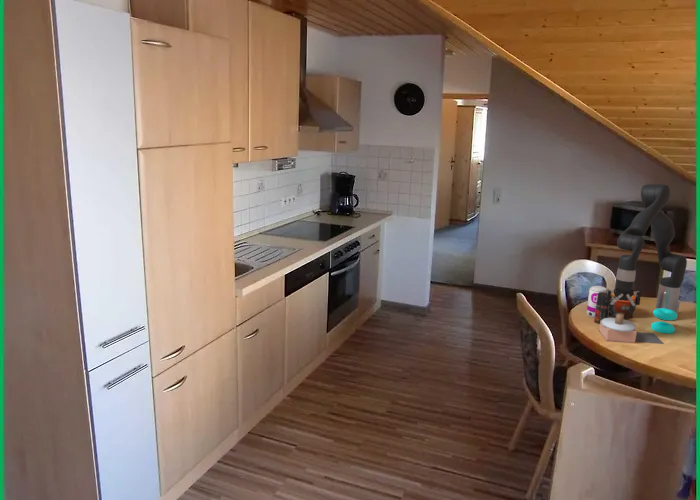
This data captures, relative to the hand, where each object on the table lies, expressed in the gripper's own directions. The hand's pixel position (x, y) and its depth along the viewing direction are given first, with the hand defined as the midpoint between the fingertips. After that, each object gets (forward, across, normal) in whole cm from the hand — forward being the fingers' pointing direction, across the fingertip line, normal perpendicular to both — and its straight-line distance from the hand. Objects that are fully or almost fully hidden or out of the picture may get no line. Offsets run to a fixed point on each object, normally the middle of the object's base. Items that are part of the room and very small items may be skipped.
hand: (620, 312), depth 249 cm
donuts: (+13, -25, -14) cm, 31 cm away
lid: (+6, 0, 0) cm, 6 cm away
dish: (+12, 0, 0) cm, 12 cm away
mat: (+13, -13, -2) cm, 18 cm away
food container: (+13, -11, -33) cm, 37 cm away
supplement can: (+13, +2, -28) cm, 31 cm away
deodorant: (+13, +2, -18) cm, 22 cm away
